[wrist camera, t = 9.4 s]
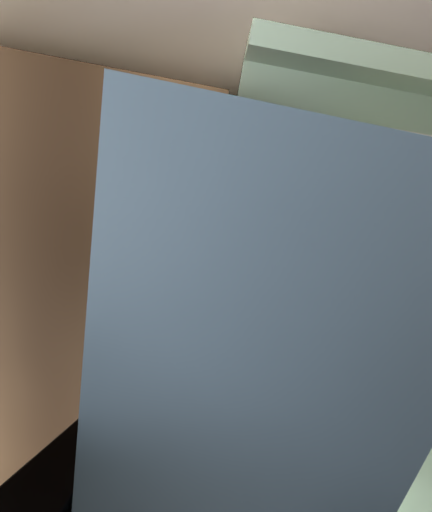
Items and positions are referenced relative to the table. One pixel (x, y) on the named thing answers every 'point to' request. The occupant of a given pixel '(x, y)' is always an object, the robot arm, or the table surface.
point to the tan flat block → (45, 242)
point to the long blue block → (253, 308)
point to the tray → (343, 104)
